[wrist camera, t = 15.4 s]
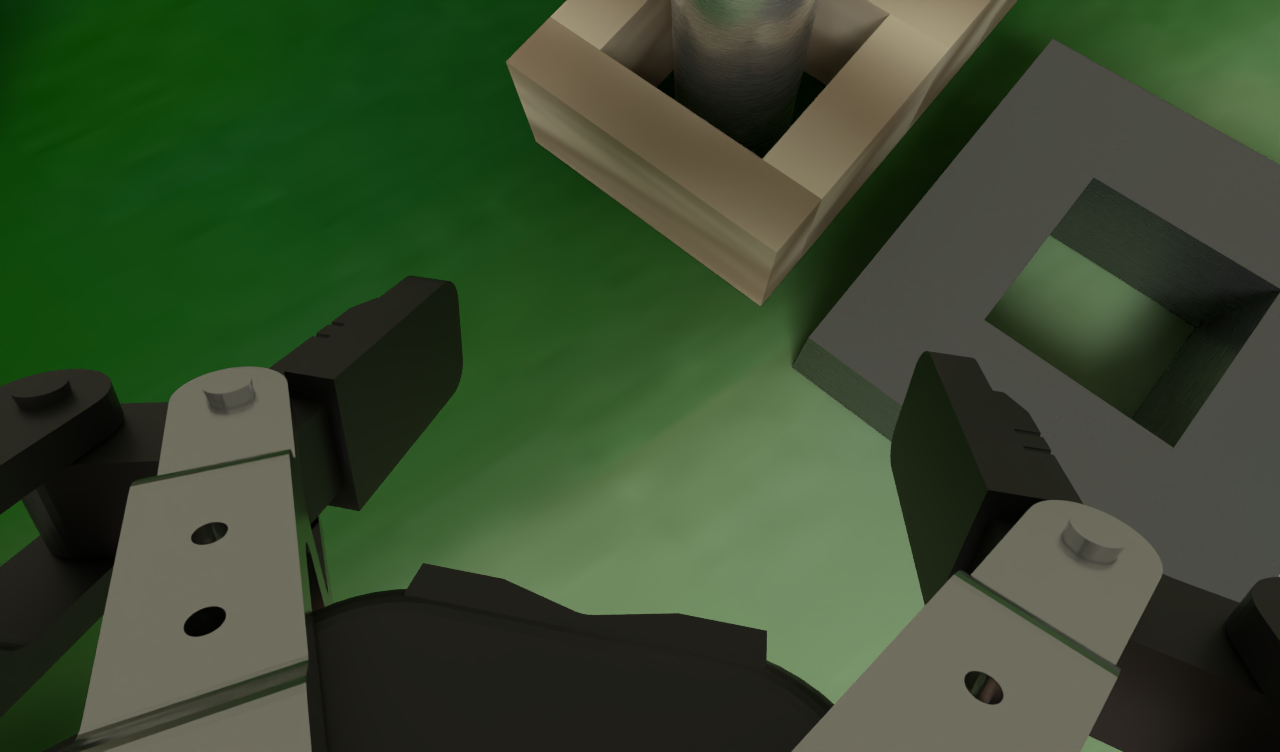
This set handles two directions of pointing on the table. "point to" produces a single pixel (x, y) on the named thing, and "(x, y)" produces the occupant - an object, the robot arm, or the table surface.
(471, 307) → the table surface
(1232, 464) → the socket block
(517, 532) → the table surface
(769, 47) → the steel peg
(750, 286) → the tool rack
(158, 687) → the robot arm
